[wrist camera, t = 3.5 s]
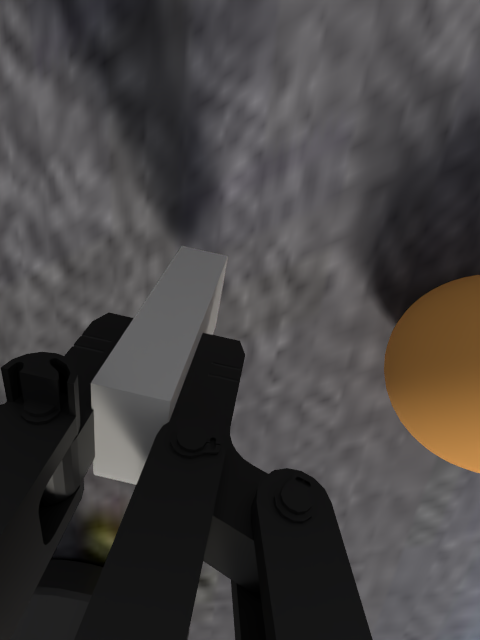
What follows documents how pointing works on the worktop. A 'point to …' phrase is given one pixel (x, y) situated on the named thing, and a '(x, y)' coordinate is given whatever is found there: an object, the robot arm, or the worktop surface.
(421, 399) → the ball
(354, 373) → the worktop surface
